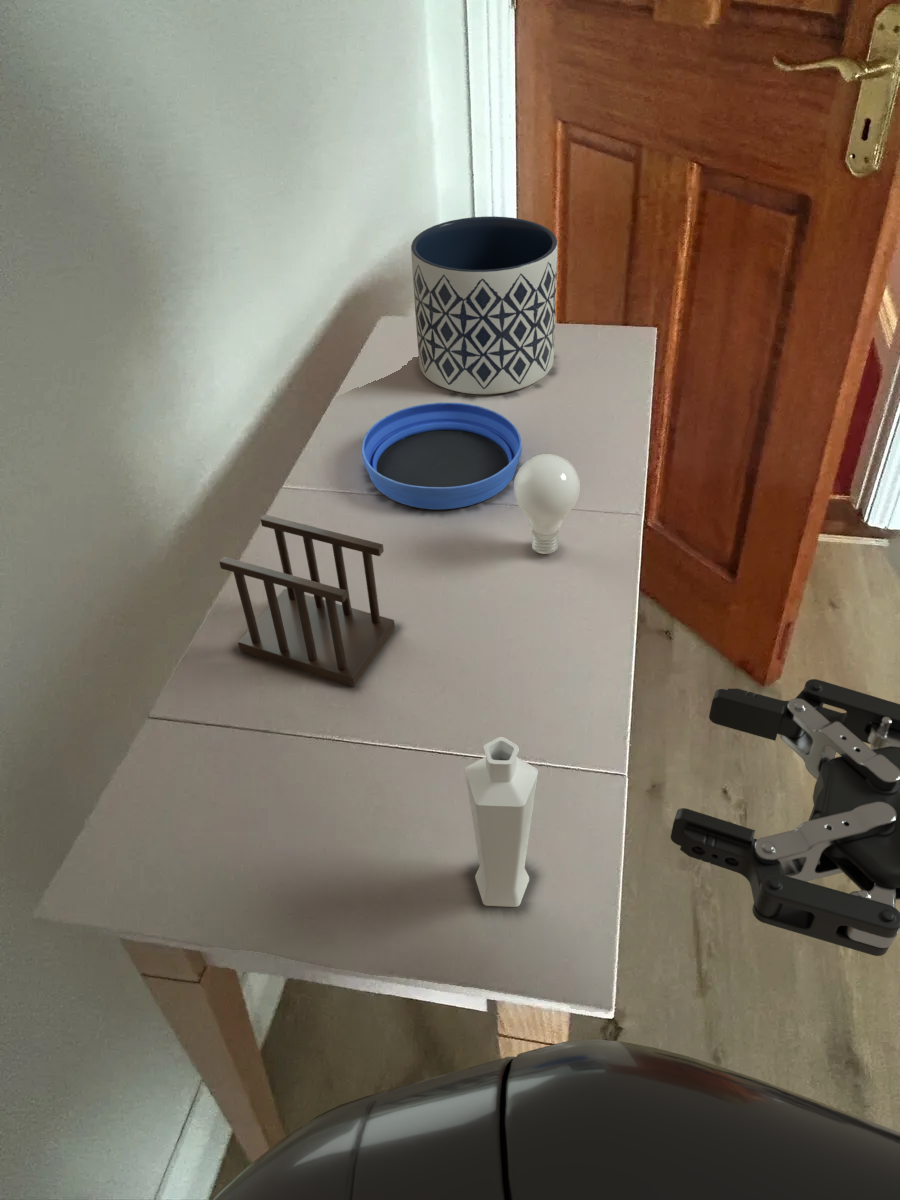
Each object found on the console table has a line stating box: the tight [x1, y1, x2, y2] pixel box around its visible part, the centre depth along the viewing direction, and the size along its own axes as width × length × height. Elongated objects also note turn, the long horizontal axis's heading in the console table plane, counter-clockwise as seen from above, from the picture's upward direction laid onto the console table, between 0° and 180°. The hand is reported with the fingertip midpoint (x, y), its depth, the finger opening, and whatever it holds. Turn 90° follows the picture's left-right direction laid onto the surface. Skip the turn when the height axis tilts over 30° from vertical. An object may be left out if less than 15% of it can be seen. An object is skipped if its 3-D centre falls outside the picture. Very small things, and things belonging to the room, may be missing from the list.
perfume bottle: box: [464, 736, 539, 908], centre depth 60 cm, size 5×4×15 cm
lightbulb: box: [513, 453, 581, 555], centre depth 89 cm, size 6×6×11 cm
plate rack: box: [219, 514, 396, 688], centre depth 81 cm, size 12×8×10 cm, turn 66°
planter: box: [410, 215, 559, 395], centre depth 118 cm, size 18×18×16 cm
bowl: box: [361, 402, 523, 510], centre depth 104 cm, size 18×18×4 cm
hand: (693, 761), depth 48 cm, fingers open, 8 cm apart
